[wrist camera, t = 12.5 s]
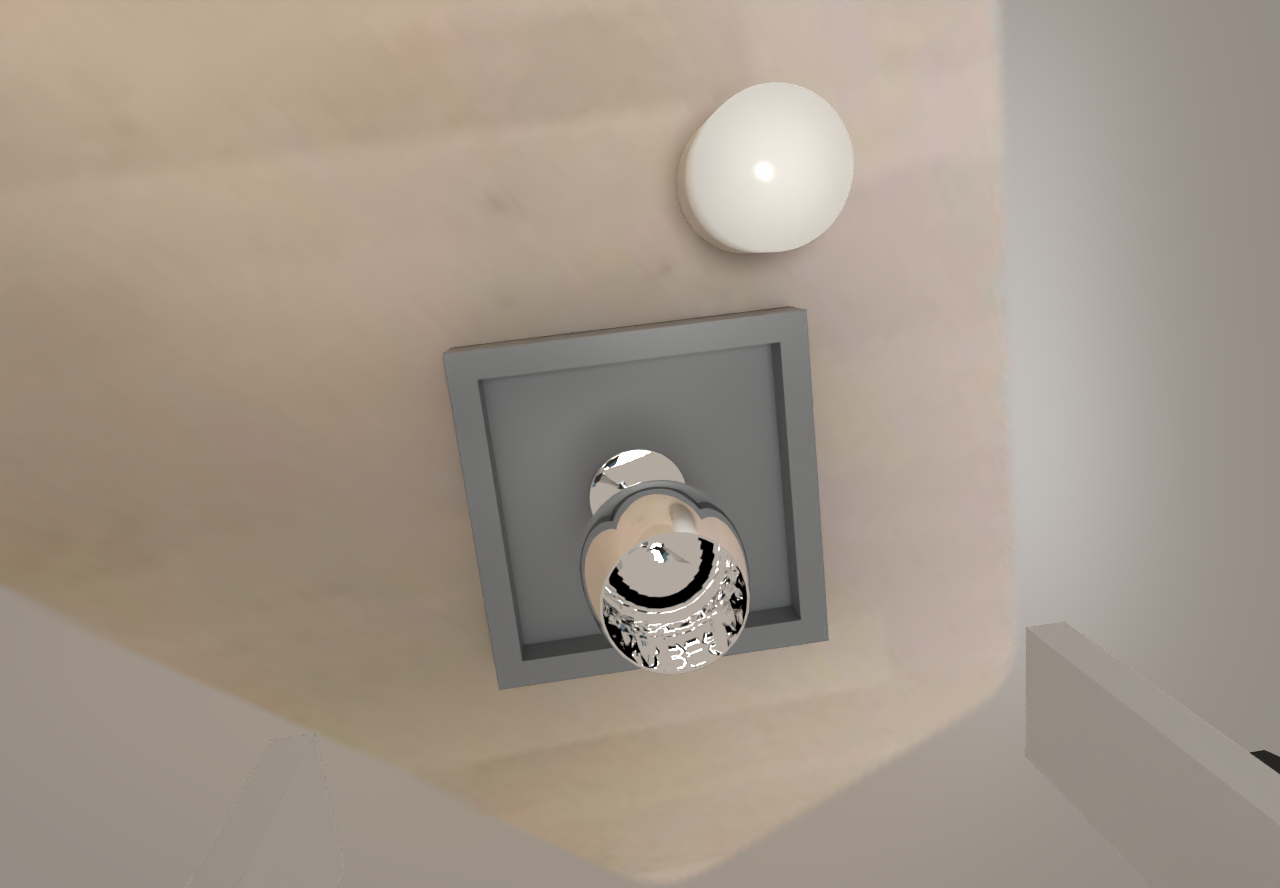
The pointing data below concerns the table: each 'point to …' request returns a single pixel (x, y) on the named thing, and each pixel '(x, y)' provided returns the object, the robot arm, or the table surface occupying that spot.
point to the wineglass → (661, 565)
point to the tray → (627, 419)
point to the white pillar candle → (766, 170)
